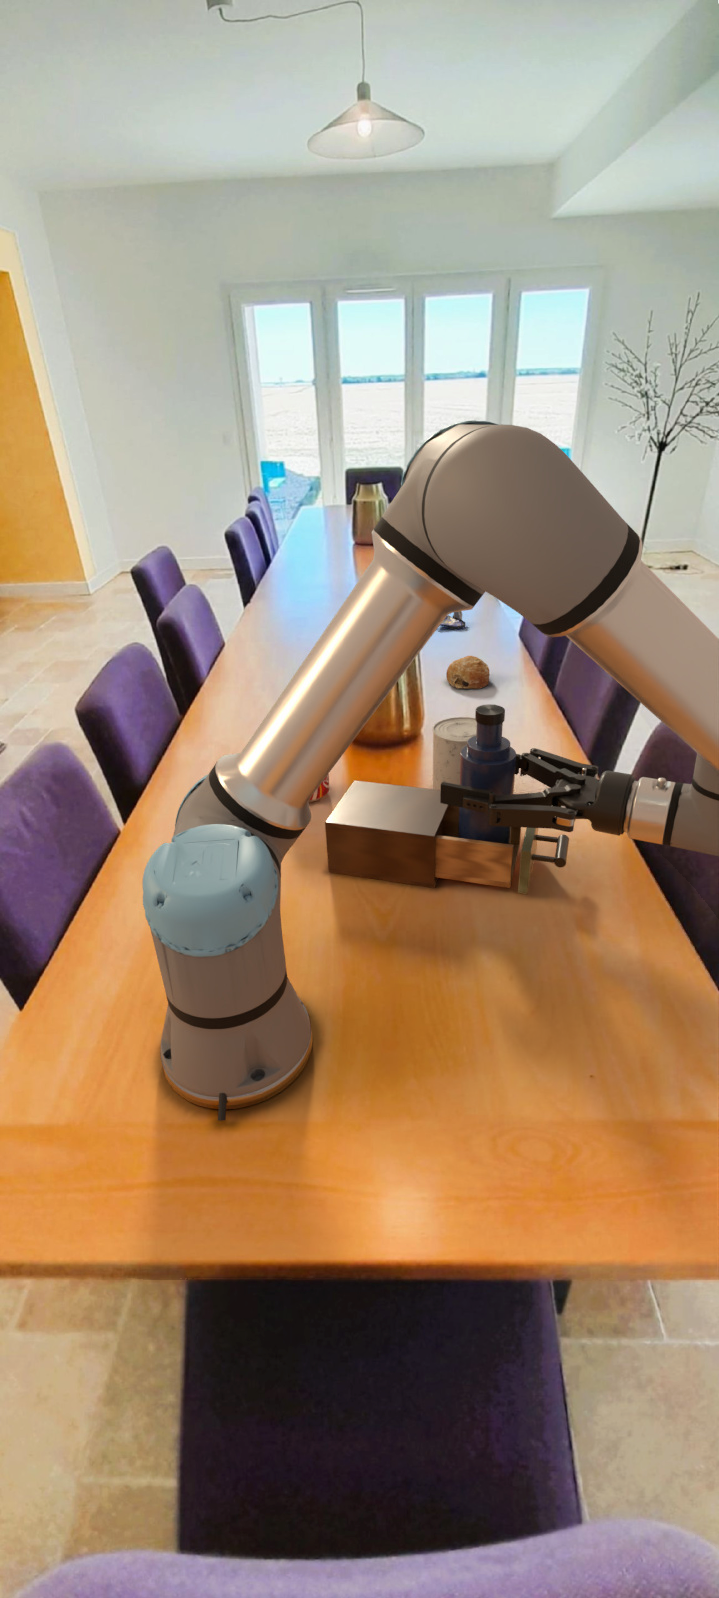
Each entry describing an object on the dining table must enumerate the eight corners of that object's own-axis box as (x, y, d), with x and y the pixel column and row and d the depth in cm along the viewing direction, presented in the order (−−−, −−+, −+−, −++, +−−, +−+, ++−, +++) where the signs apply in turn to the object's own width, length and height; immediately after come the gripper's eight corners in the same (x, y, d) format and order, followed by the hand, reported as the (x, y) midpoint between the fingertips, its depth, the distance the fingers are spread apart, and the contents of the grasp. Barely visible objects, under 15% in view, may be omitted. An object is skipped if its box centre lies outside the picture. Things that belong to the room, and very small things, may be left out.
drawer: (567, 851, 102) (572, 811, 99) (561, 899, 92) (566, 856, 89) (438, 835, 107) (438, 796, 104) (420, 878, 98) (419, 837, 94)
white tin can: (423, 804, 117) (422, 735, 111) (445, 779, 124) (446, 713, 118) (479, 816, 113) (481, 745, 107) (498, 790, 120) (502, 721, 114)
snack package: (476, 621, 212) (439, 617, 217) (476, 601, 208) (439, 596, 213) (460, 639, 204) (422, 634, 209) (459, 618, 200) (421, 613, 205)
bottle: (505, 874, 96) (515, 722, 85) (453, 867, 98) (456, 717, 87) (512, 847, 102) (522, 701, 91) (463, 840, 104) (467, 697, 93)
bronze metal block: (453, 839, 107) (454, 791, 103) (434, 888, 97) (434, 836, 93) (356, 827, 112) (354, 780, 108) (328, 872, 101) (324, 822, 97)
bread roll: (443, 700, 167) (441, 675, 161) (451, 669, 173) (449, 643, 166) (486, 703, 164) (485, 677, 158) (493, 671, 170) (492, 645, 164)
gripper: (651, 740, 93) (488, 716, 103) (615, 824, 75) (422, 786, 85) (642, 791, 97) (485, 763, 106) (607, 883, 79) (422, 840, 89)
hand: (457, 773), depth 96 cm, fingers open, 11 cm apart
